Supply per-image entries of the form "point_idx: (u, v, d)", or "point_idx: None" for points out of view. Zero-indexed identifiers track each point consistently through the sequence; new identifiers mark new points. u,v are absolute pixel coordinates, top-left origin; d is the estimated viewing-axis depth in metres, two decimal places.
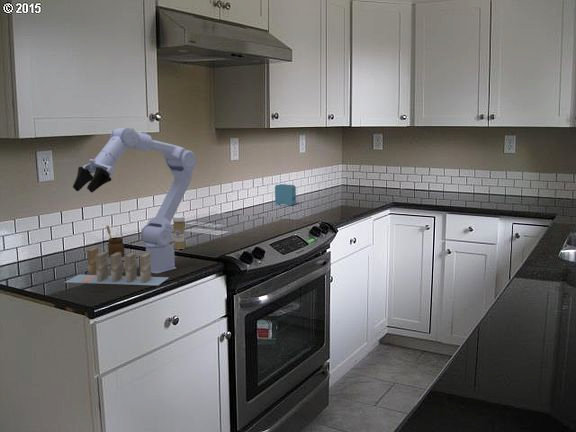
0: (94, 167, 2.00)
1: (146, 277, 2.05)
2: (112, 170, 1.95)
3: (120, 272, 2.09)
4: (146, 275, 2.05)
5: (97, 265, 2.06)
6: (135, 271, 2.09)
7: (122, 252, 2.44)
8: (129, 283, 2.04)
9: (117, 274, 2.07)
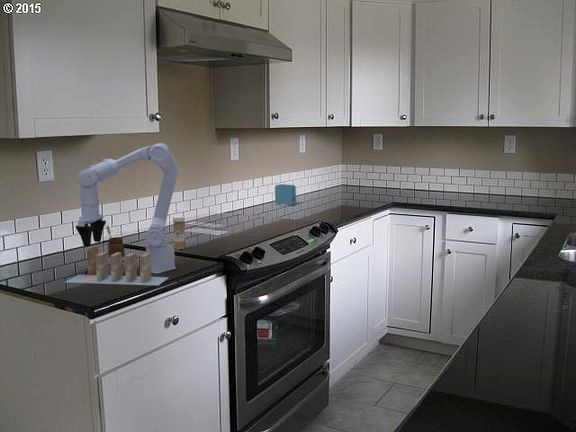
0: None
1: (146, 277, 2.05)
2: (80, 223, 2.09)
3: (120, 272, 2.09)
4: (146, 275, 2.05)
5: (97, 265, 2.06)
6: (135, 271, 2.09)
7: (122, 252, 2.44)
8: (129, 283, 2.04)
9: (117, 274, 2.07)
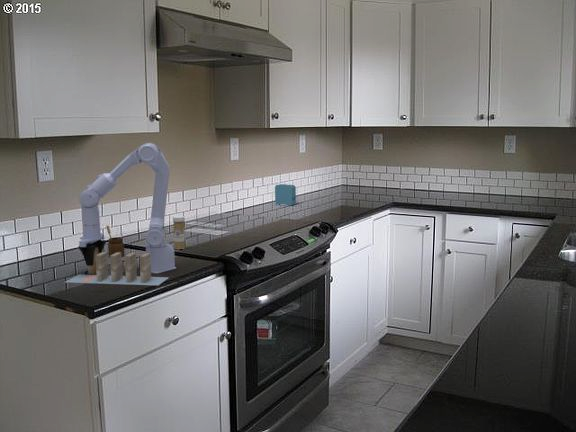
0: None
1: (146, 277, 2.05)
2: (82, 243, 2.11)
3: (120, 272, 2.09)
4: (146, 275, 2.05)
5: (97, 265, 2.06)
6: (135, 271, 2.09)
7: (122, 252, 2.44)
8: (129, 283, 2.04)
9: (117, 274, 2.07)
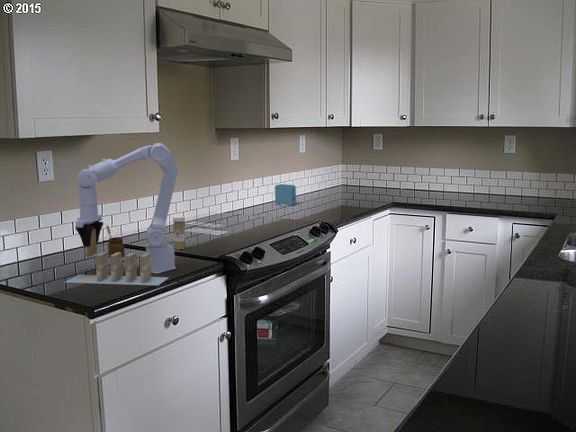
0: None
1: (146, 277, 2.05)
2: (79, 223, 2.07)
3: (120, 272, 2.09)
4: (146, 275, 2.05)
5: (97, 265, 2.06)
6: (135, 271, 2.09)
7: (122, 252, 2.44)
8: (129, 283, 2.04)
9: (117, 274, 2.07)
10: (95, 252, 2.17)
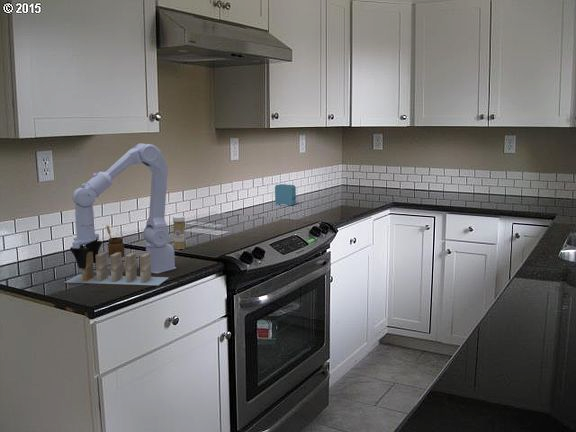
0: None
1: (146, 277, 2.05)
2: (75, 244, 2.01)
3: (120, 272, 2.09)
4: (146, 275, 2.05)
5: (97, 265, 2.06)
6: (135, 271, 2.09)
7: (122, 252, 2.44)
8: (129, 283, 2.04)
9: (117, 274, 2.07)
10: (92, 276, 2.11)
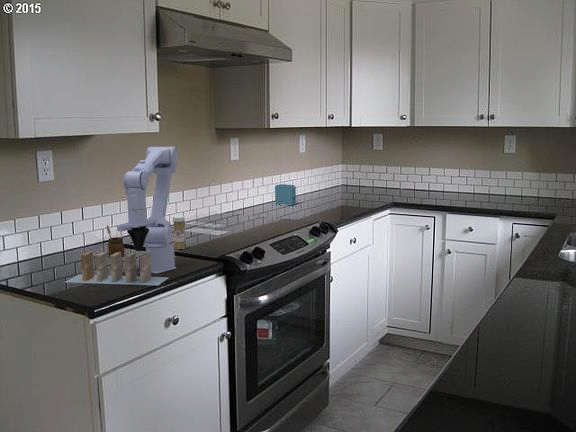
0: None
1: (146, 277, 2.05)
2: (119, 227, 1.99)
3: (120, 272, 2.09)
4: (146, 275, 2.05)
5: (97, 265, 2.06)
6: (135, 271, 2.09)
7: (122, 252, 2.44)
8: (129, 283, 2.04)
9: (117, 274, 2.07)
10: (92, 276, 2.11)
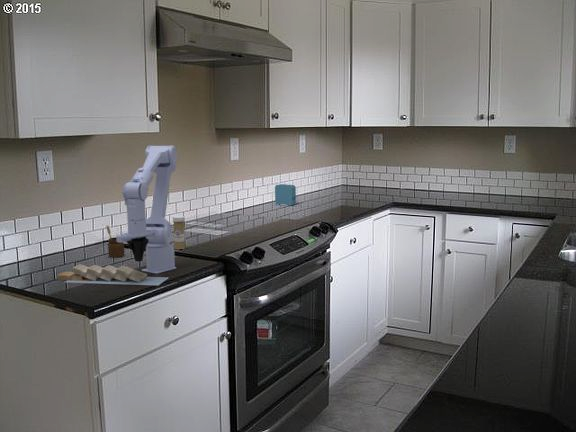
0: None
1: (138, 275, 2.06)
2: (118, 238, 2.00)
3: None
4: (136, 274, 2.06)
5: (81, 274, 2.08)
6: None
7: (122, 252, 2.44)
8: (129, 283, 2.04)
9: None
10: None
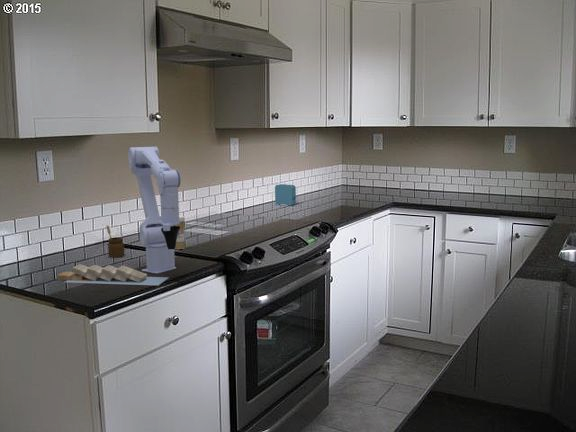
0: None
1: (138, 275, 2.06)
2: (166, 227, 1.99)
3: None
4: (136, 274, 2.06)
5: (81, 274, 2.08)
6: None
7: (122, 252, 2.44)
8: (129, 283, 2.04)
9: None
10: None
